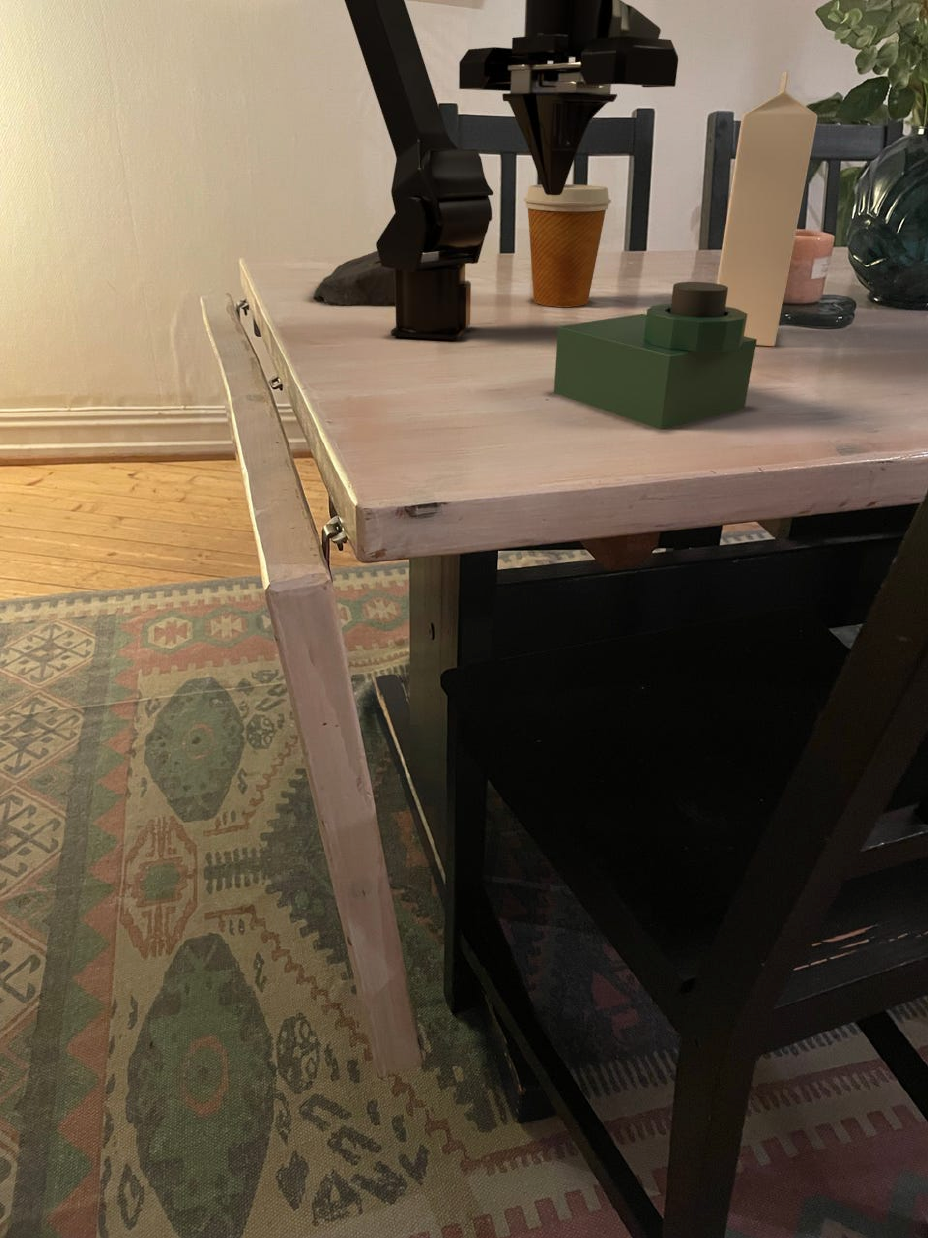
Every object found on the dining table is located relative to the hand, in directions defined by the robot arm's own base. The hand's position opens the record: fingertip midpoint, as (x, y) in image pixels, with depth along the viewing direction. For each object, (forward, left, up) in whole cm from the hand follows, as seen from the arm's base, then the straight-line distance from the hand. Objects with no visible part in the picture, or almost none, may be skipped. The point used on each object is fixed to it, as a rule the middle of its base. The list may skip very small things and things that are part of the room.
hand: (553, 194), depth 69 cm
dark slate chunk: (-23, +31, -13) cm, 41 cm away
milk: (+18, +13, -13) cm, 26 cm away
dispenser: (+9, -11, -13) cm, 20 cm away
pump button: (+12, -14, -6) cm, 19 cm away
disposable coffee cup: (-1, +28, -13) cm, 31 cm away
